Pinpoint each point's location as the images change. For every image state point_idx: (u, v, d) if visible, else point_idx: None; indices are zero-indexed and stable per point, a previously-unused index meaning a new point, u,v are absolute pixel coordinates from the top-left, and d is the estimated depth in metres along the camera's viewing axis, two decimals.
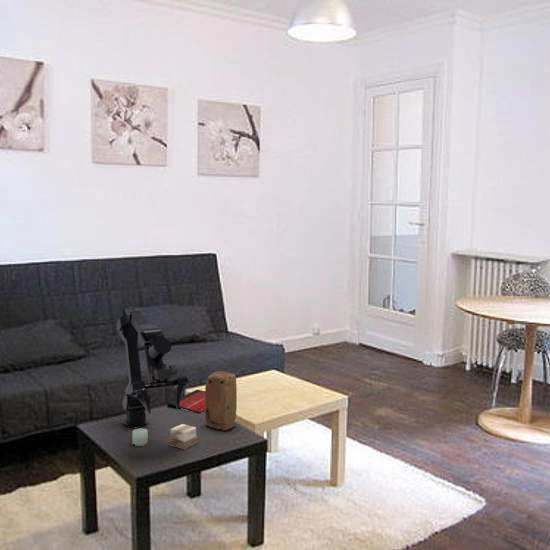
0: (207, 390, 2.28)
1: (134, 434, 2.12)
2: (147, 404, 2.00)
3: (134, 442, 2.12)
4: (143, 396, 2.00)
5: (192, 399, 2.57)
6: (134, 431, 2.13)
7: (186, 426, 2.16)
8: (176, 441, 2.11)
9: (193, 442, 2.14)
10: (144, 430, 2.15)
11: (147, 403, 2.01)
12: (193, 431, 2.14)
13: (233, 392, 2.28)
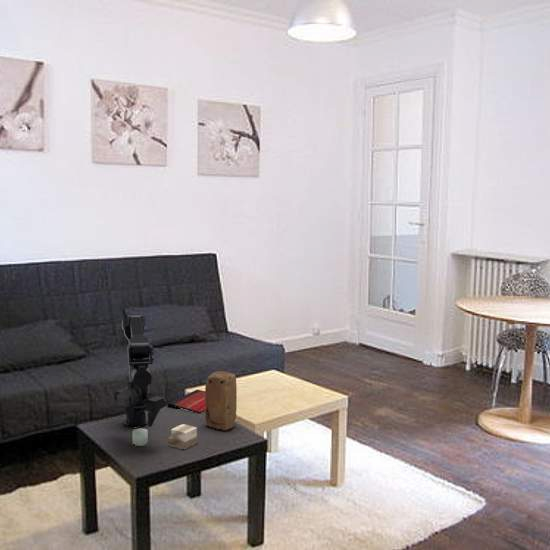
0: (207, 390, 2.28)
1: (134, 434, 2.12)
2: (126, 413, 2.15)
3: (134, 442, 2.12)
4: (123, 406, 2.15)
5: (192, 399, 2.57)
6: (134, 431, 2.13)
7: (186, 426, 2.16)
8: (176, 441, 2.11)
9: (193, 442, 2.14)
10: (144, 430, 2.15)
11: (126, 412, 2.15)
12: (194, 431, 2.14)
13: (233, 392, 2.28)
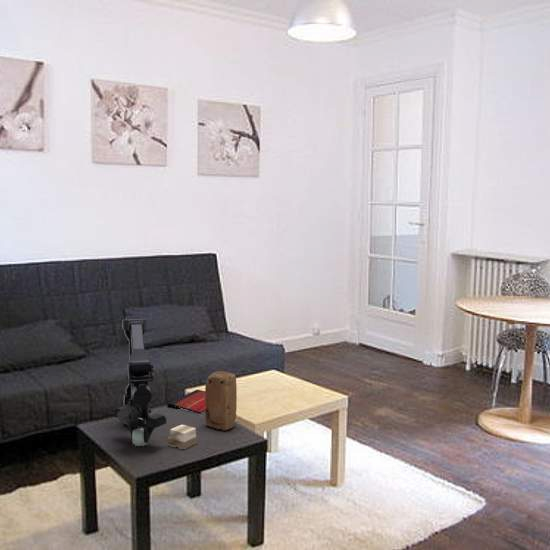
0: (207, 390, 2.28)
1: (134, 433, 2.12)
2: (130, 431, 2.15)
3: (134, 442, 2.12)
4: (127, 424, 2.15)
5: (192, 399, 2.57)
6: (134, 431, 2.13)
7: (186, 427, 2.15)
8: (175, 441, 2.11)
9: (192, 442, 2.14)
10: None
11: (130, 431, 2.15)
12: (193, 432, 2.13)
13: (233, 392, 2.28)
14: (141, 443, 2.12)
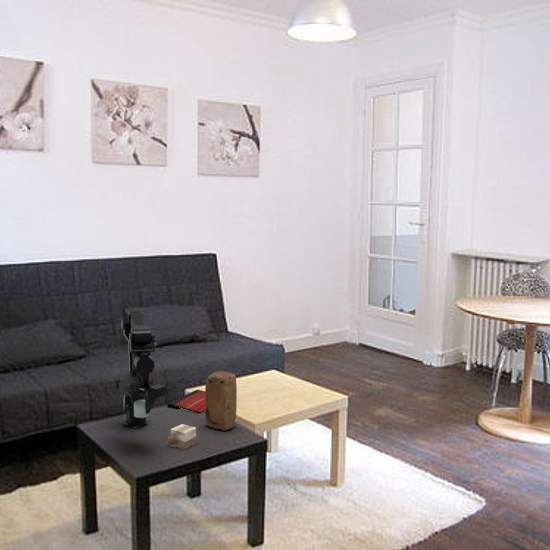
0: (207, 390, 2.28)
1: (136, 404, 2.10)
2: (132, 403, 2.13)
3: (135, 413, 2.11)
4: (129, 395, 2.13)
5: (192, 399, 2.57)
6: (136, 402, 2.12)
7: (186, 426, 2.16)
8: (175, 441, 2.12)
9: (192, 442, 2.14)
10: None
11: (132, 402, 2.13)
12: (193, 431, 2.14)
13: (233, 392, 2.28)
14: (143, 414, 2.11)
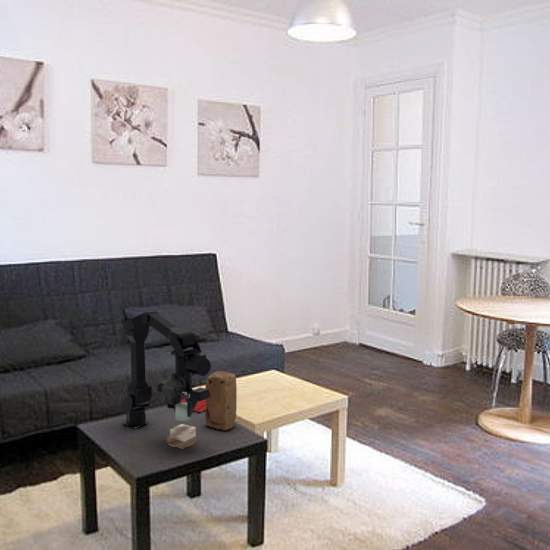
0: None
1: (178, 407, 2.11)
2: (173, 406, 2.14)
3: (177, 416, 2.11)
4: (170, 398, 2.14)
5: None
6: (177, 405, 2.12)
7: (185, 426, 2.16)
8: (175, 441, 2.12)
9: (192, 442, 2.14)
10: None
11: (173, 405, 2.14)
12: (193, 431, 2.14)
13: (233, 392, 2.28)
14: (184, 417, 2.11)
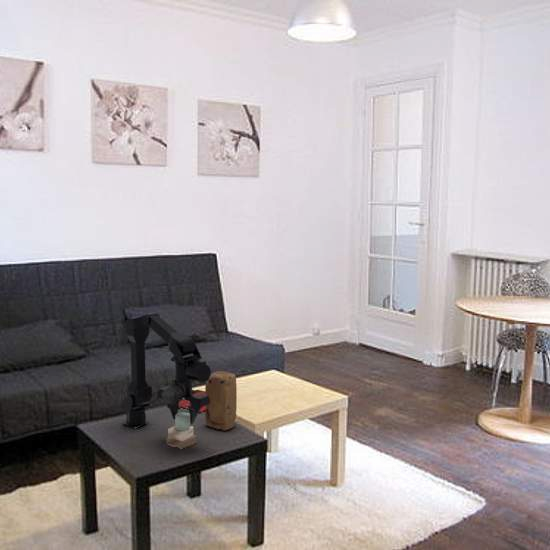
0: (207, 390, 2.28)
1: (177, 417, 2.11)
2: (171, 411, 2.15)
3: (177, 426, 2.12)
4: (168, 404, 2.14)
5: None
6: (177, 415, 2.13)
7: None
8: (174, 441, 2.12)
9: (191, 442, 2.14)
10: (187, 414, 2.14)
11: (171, 411, 2.15)
12: (191, 430, 2.14)
13: (233, 392, 2.28)
14: (184, 427, 2.11)
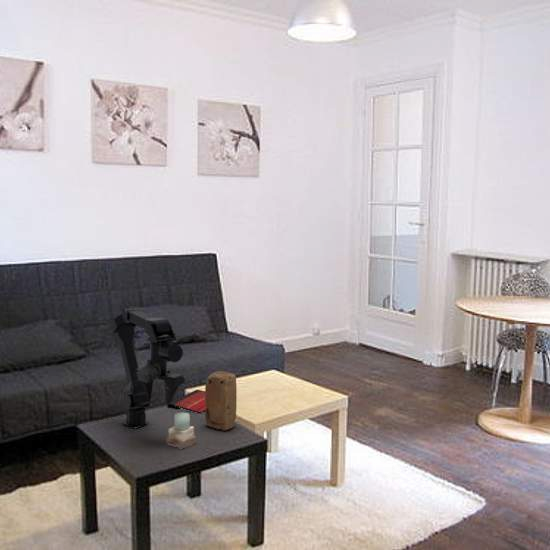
0: (207, 390, 2.28)
1: (177, 418, 2.12)
2: (145, 390, 2.20)
3: (177, 426, 2.12)
4: (142, 383, 2.20)
5: (192, 399, 2.57)
6: (176, 415, 2.13)
7: None
8: (174, 441, 2.12)
9: (191, 442, 2.14)
10: (186, 414, 2.15)
11: (145, 390, 2.20)
12: (191, 430, 2.15)
13: (233, 392, 2.28)
14: (184, 427, 2.12)
